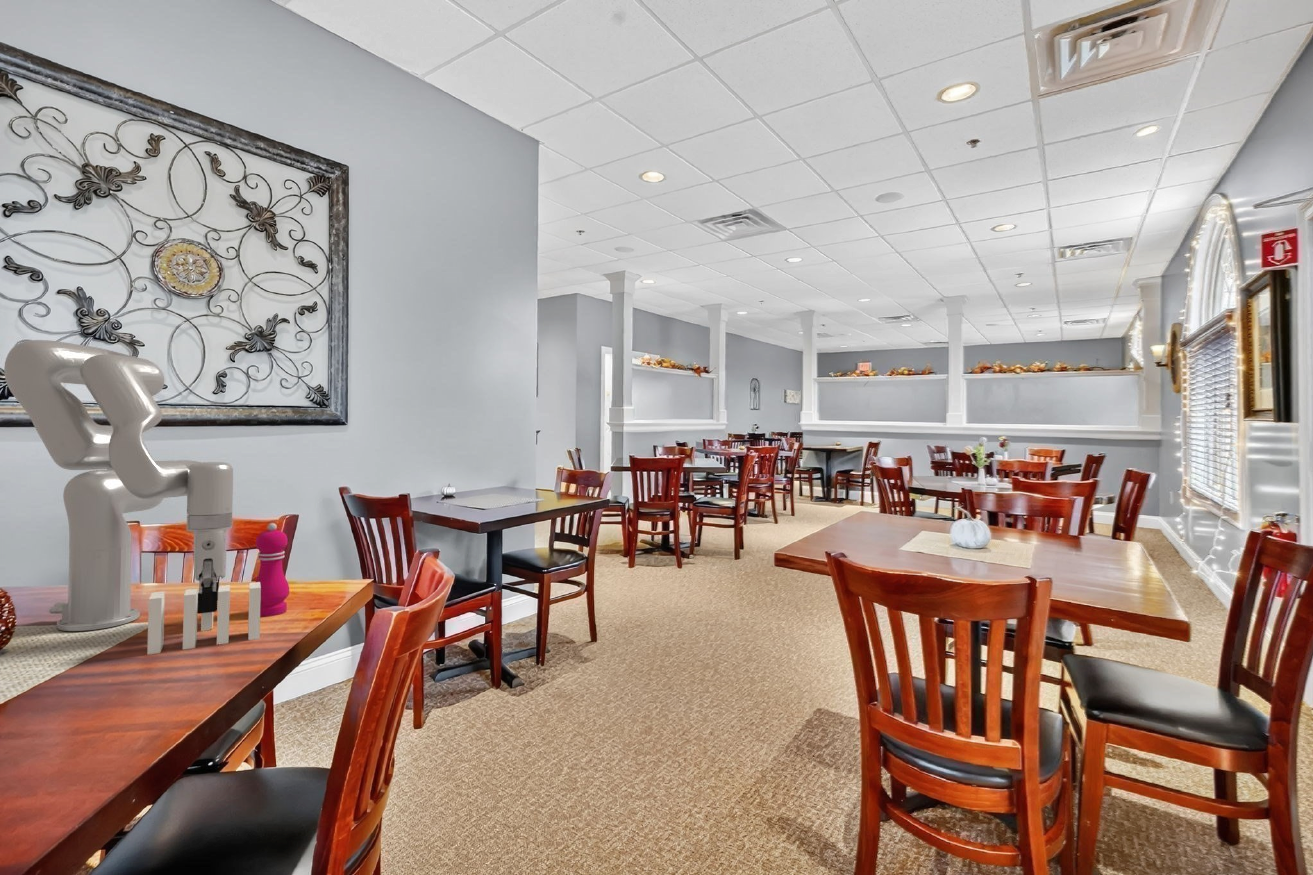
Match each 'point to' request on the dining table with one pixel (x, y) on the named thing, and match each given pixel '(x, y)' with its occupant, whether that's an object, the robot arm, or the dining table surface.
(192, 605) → the domino
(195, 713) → the dining table surface
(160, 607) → the domino
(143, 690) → the dining table surface
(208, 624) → the domino loose
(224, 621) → the domino
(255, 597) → the domino
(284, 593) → the pepper mill
